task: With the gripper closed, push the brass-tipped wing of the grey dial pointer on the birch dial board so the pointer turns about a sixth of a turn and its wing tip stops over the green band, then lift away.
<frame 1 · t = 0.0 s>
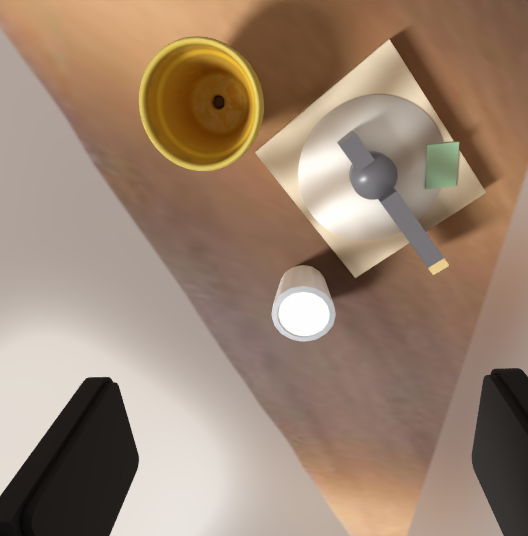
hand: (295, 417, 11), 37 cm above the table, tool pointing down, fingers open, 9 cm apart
white cup: (302, 285, 51), on the table
tuner board: (367, 168, 44), on the table
grey dial pointer: (393, 204, 41), point 4 cm above the table, hinge at 0.0°
plant pot: (220, 103, 43), on the table
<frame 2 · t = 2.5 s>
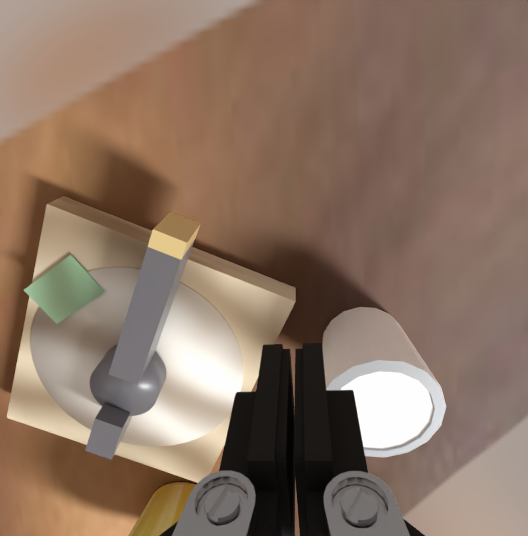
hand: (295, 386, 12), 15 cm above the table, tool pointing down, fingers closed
white cup: (361, 340, 29), on the table
tuner board: (146, 348, 30), on the table
grey dial pointer: (139, 344, 25), point 4 cm above the table, hinge at 0.0°
plant pot: (188, 505, 37), on the table
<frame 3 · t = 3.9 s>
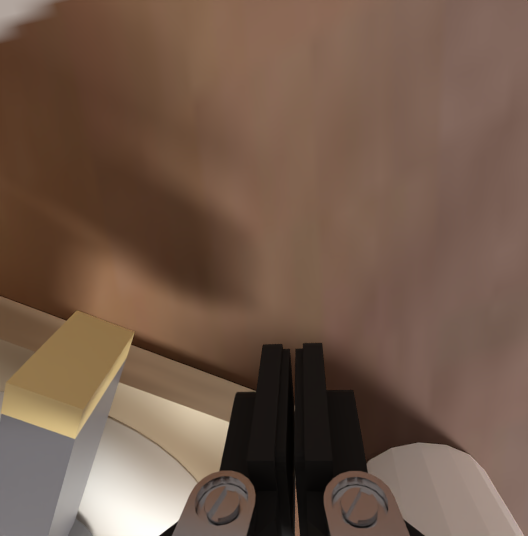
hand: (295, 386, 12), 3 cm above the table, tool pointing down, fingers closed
white cup: (418, 486, 18), on the table
tuner board: (75, 487, 19), on the table
grey dial pointer: (34, 532, 14), point 4 cm above the table, hinge at 0.0°
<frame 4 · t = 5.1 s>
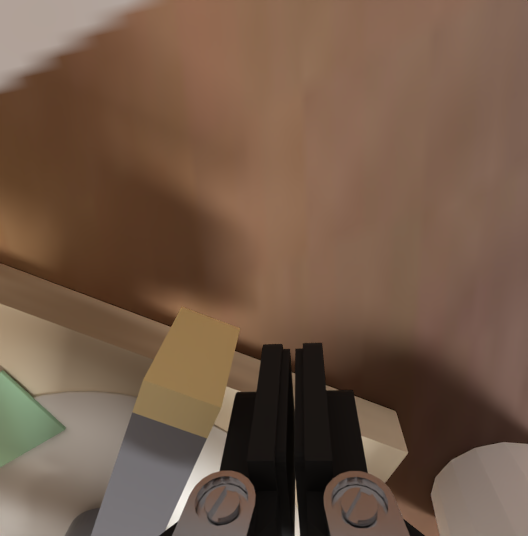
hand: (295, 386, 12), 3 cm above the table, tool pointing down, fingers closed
white cup: (497, 487, 18), on the table
tuner board: (142, 489, 19), on the table
grey dial pointer: (125, 535, 14), point 4 cm above the table, hinge at 0.3°, touching gripper
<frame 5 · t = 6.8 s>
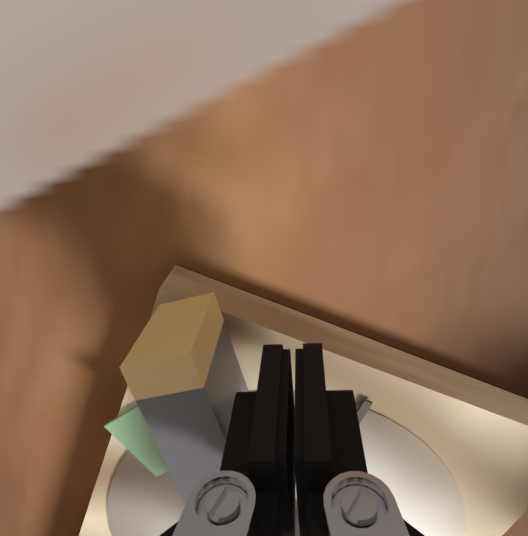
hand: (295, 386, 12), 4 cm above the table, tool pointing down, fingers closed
tuner board: (282, 491, 19), on the table
grey dial pointer: (255, 527, 14), point 4 cm above the table, hinge at 37.0°, touching gripper
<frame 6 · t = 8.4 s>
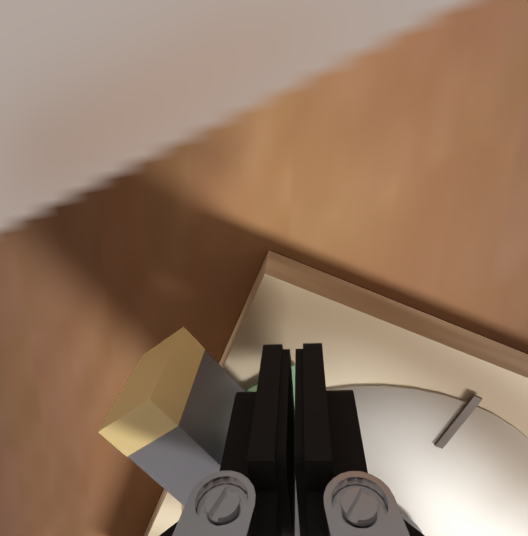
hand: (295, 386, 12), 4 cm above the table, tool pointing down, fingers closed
tuner board: (358, 489, 18), on the table
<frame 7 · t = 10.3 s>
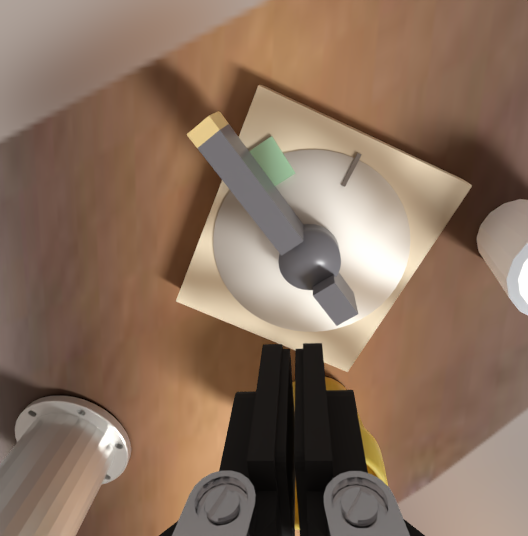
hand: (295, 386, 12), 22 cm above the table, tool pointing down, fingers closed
white cup: (514, 233, 32), on the table
tuner board: (309, 239, 33), on the table
grey dial pointer: (280, 222, 28), point 4 cm above the table, hinge at 60.3°
plant pot: (316, 400, 41), on the table
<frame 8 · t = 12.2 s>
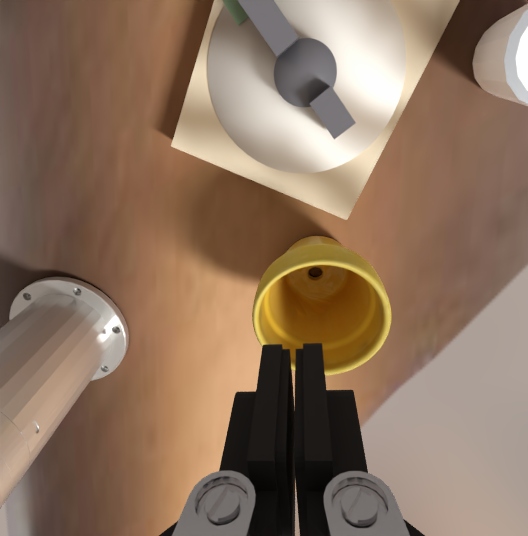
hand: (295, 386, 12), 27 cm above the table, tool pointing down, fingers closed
white cup: (509, 56, 32), on the table
tuner board: (304, 75, 33), on the table
grey dial pointer: (274, 29, 28), point 4 cm above the table, hinge at 60.3°
plant pot: (316, 267, 40), on the table
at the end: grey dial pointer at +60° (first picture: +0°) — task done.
